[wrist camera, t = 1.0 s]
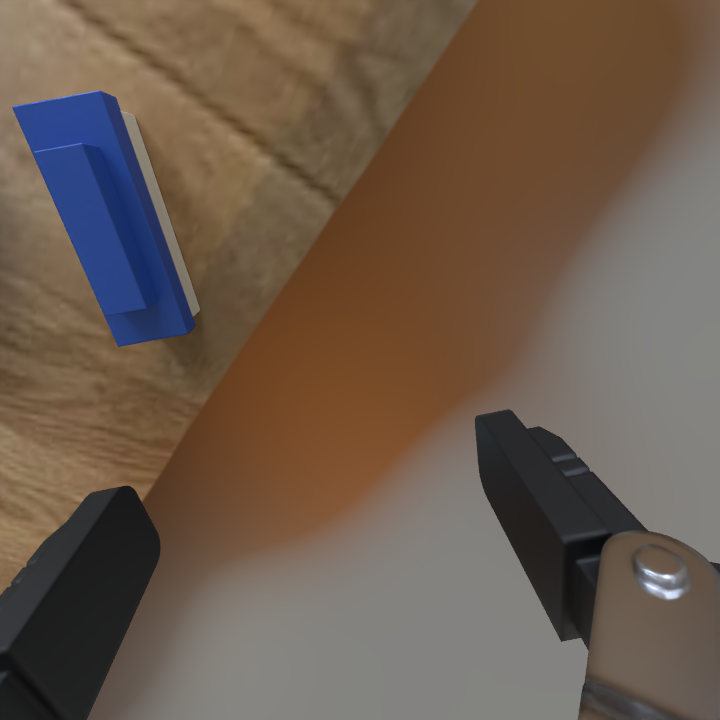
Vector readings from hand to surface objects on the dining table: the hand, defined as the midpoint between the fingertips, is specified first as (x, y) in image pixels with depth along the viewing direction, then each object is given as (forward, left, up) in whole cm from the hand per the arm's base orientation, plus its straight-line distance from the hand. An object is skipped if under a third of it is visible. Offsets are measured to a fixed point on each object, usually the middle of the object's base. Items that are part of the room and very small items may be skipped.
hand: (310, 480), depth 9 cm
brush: (-6, -12, -23) cm, 26 cm away
